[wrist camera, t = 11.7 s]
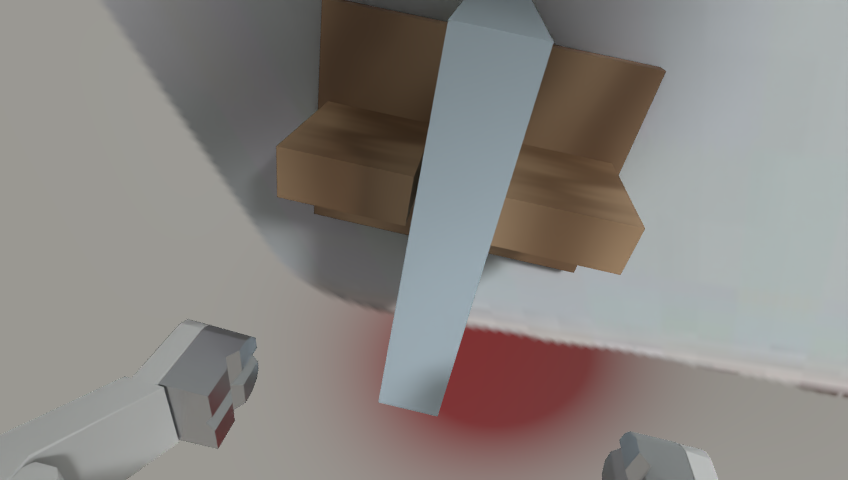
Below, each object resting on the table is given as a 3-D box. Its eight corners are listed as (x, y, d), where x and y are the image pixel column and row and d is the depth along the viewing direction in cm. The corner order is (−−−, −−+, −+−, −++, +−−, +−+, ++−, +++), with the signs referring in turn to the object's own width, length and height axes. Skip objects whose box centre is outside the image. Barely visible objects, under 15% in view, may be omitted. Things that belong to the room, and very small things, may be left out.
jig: (660, 67, 20) (723, 115, 14) (571, 264, 26) (590, 352, 20) (327, -4, 20) (259, 15, 14) (318, 206, 26) (268, 277, 21)
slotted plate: (473, -13, 18) (448, 19, 10) (531, -1, 18) (553, 41, 10) (418, 258, 26) (378, 402, 18) (458, 267, 26) (437, 416, 18)
